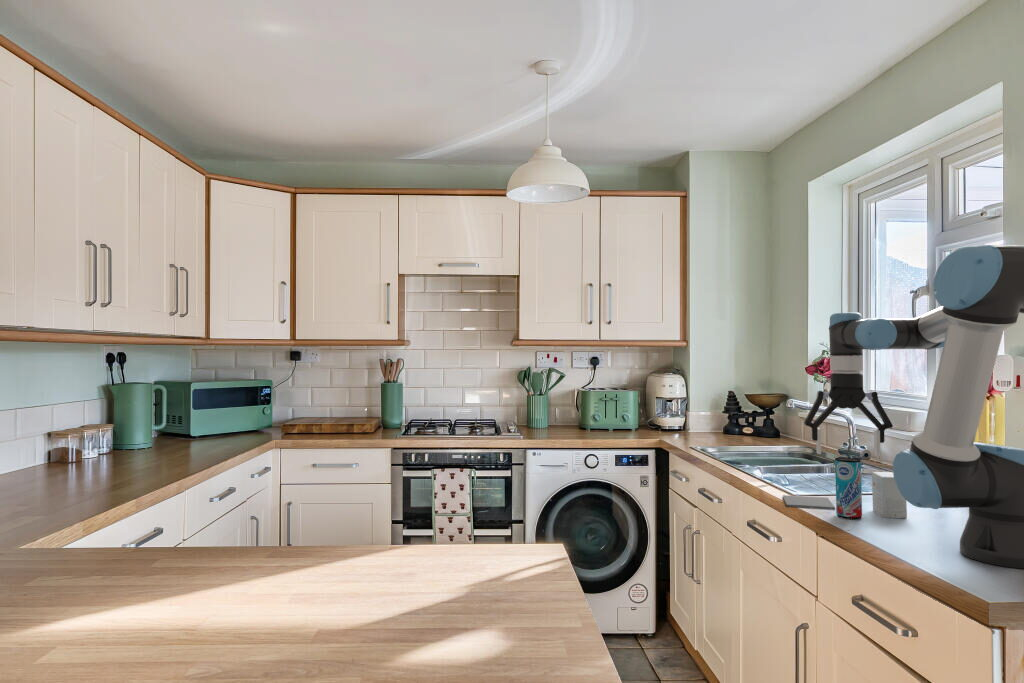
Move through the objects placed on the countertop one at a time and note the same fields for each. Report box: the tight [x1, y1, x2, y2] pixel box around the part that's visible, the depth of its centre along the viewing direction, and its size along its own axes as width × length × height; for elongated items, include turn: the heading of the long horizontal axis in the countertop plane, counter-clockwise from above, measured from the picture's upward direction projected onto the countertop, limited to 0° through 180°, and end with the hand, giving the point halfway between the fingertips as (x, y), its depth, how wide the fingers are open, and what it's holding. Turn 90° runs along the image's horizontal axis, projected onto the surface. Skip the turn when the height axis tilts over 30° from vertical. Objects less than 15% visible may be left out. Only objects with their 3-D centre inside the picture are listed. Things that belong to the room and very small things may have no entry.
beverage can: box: [834, 456, 863, 520], centre depth 165 cm, size 6×6×15 cm
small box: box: [871, 471, 908, 519], centre depth 167 cm, size 8×6×10 cm
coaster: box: [782, 494, 836, 510], centre depth 181 cm, size 12×12×1 cm
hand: (847, 454), depth 165 cm, fingers open, 13 cm apart
